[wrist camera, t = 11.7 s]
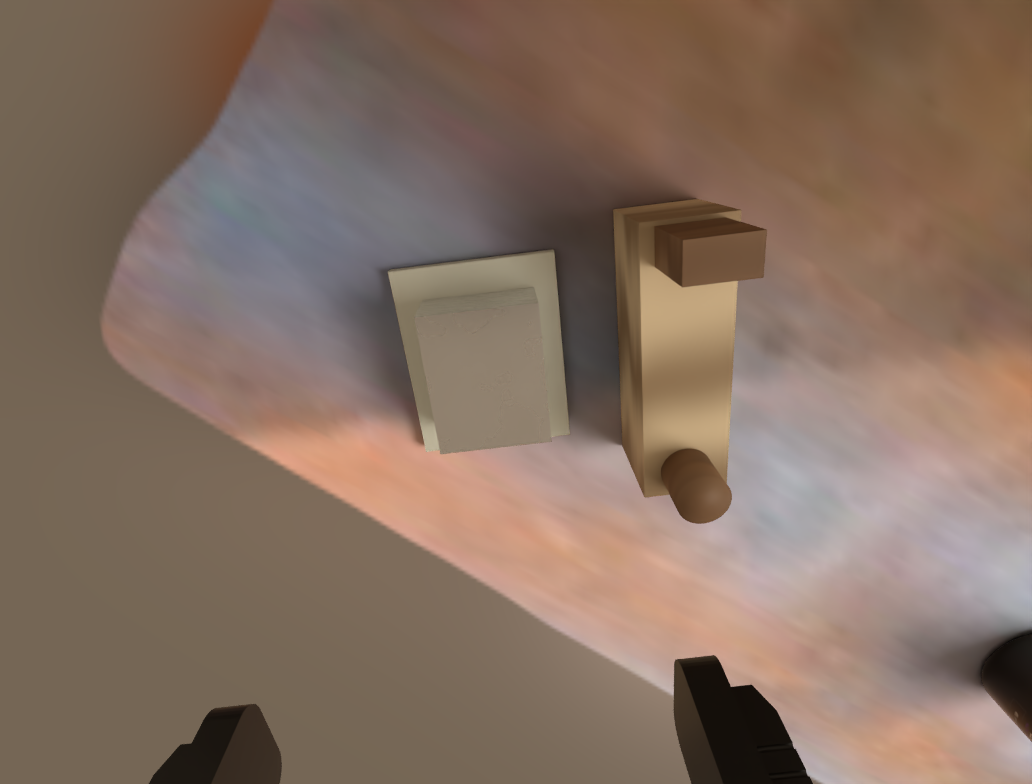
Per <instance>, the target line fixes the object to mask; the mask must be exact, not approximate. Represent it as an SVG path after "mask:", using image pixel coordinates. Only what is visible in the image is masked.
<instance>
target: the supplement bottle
mask: <svg viewBox="0 0 1032 784" xmlns="http://www.w3.org/2000/svg"><path fill="white" fill-rule="evenodd" d="M981 679H982V684H983V686H984V688H985V690H986V691H987V693H988V694H989V695H990V696H991V697H992V698H993V700H994V701H995V702H996V703H997V704H998V705H999V706H1000V707H1001V709H1002V710H1003V711H1004V712H1005V713H1006V714H1007V715H1008V716H1009V717H1010V718H1011V720H1012V721H1013V722H1014V723H1015V724H1016V725H1017V726H1018V727H1019V728H1020V729H1021V731H1022V732H1023V733H1024V734H1025V735H1026V736H1027V737H1028V738H1029V739H1030V741H1031V742H1032V634H1029V635H1025V636H1022V637H1019V638H1017V639H1014V640H1012V641H1010V642H1008V643H1007V644H1005V645H1003V646H1002V647H1000V648H999V649H998V650H996V651H995V652H994V653H993V654H992V655H991V656H990V657H989V658H988V660H987V661H986V663H985V664H984V666H983V669H982V673H981Z"/></svg>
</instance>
